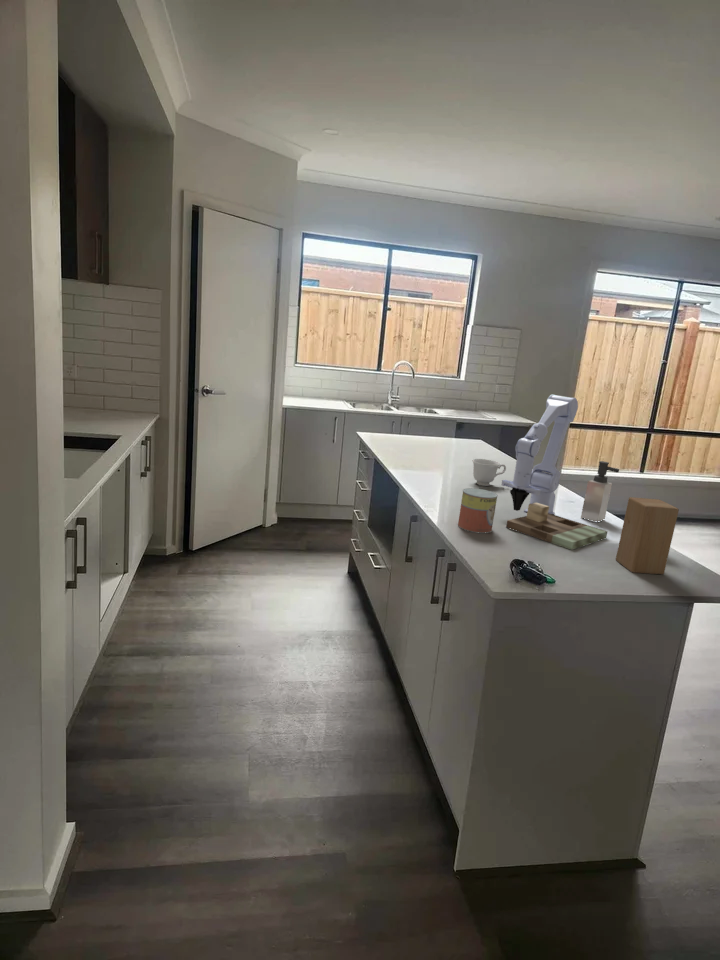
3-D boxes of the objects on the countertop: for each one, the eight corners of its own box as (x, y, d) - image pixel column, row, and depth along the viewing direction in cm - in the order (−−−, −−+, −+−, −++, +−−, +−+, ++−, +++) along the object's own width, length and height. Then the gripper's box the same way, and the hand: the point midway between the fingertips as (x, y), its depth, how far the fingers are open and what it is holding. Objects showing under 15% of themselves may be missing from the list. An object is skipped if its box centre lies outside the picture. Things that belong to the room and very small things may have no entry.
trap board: (542, 518, 226) (544, 511, 225) (606, 538, 209) (607, 531, 209) (506, 527, 209) (507, 520, 209) (571, 549, 193) (573, 542, 192)
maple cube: (534, 516, 218) (536, 502, 217) (546, 520, 214) (549, 506, 213) (526, 518, 214) (528, 504, 213) (539, 522, 211) (541, 508, 210)
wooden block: (614, 560, 188) (628, 496, 183) (646, 562, 189) (660, 499, 184) (631, 572, 178) (646, 506, 173) (664, 575, 179) (679, 508, 174)
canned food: (484, 535, 198) (490, 499, 195) (452, 526, 203) (457, 491, 201) (496, 528, 207) (502, 493, 205) (465, 520, 213) (470, 486, 210)
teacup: (505, 489, 266) (509, 467, 263) (471, 486, 265) (474, 463, 263) (500, 483, 277) (503, 461, 275) (467, 479, 277) (470, 457, 275)
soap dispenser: (603, 524, 226) (615, 466, 221) (580, 518, 232) (591, 460, 227) (610, 522, 231) (622, 464, 226) (587, 515, 237) (599, 459, 232)
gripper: (499, 468, 219) (493, 505, 222) (535, 478, 209) (528, 517, 212) (510, 467, 224) (504, 503, 227) (546, 476, 214) (539, 514, 217)
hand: (516, 510), depth 220 cm, fingers closed
